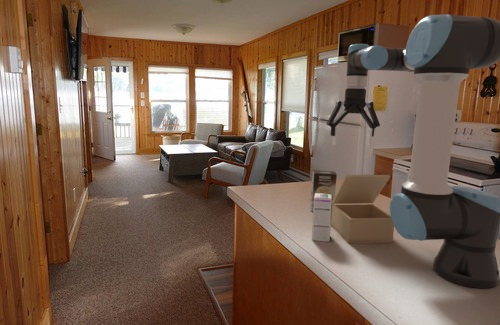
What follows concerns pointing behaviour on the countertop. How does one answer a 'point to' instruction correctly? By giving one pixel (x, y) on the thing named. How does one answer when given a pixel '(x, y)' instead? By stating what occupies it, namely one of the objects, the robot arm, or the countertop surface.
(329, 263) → the countertop surface
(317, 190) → the coffee box
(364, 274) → the countertop surface
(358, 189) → the box lid
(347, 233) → the cardboard box
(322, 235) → the syrup box
